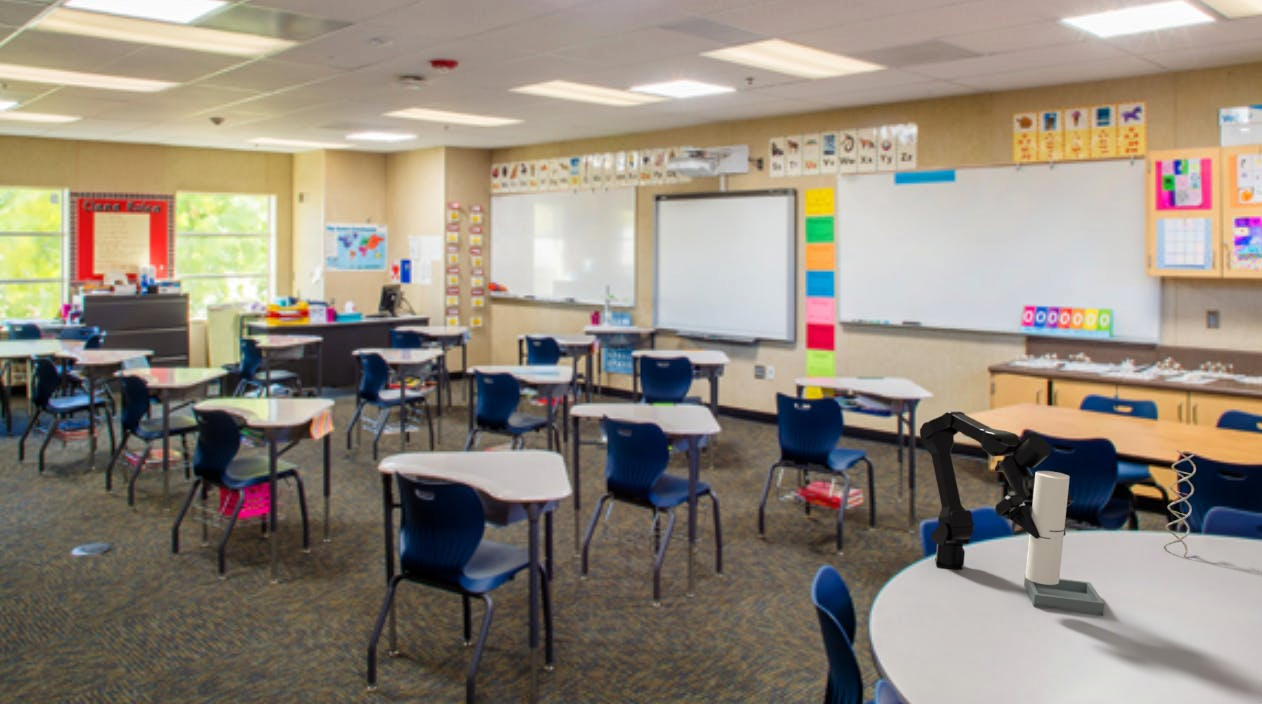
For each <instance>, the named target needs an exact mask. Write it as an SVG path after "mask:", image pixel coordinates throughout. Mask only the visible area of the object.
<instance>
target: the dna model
mask: <svg viewBox="0 0 1262 704" xmlns="http://www.w3.org/2000/svg"><path fill="white" fill-rule="evenodd" d="M1176 452H1177V453H1179V454H1180V455H1181V456H1182V457H1184V458H1183V459H1180V460H1178V461H1176V462H1174V463H1173V464H1171V469H1172V471H1174V472H1175V473H1176V474H1177V476H1180V477H1181V479H1179V480H1177V481H1175V482H1173V483H1171V484H1170V485H1169V490H1170V491H1171V492H1173V493H1174V494H1175V496H1177V497H1179V498H1180V499H1178V500H1174V501H1173V502H1171V503H1169V504H1168V505H1167V509H1168V511H1169V512H1171V513H1172V514H1173V515H1174V516H1176V517H1177V518H1178V519H1176V520H1172V522H1168V523H1167V524H1166V525H1165V529H1166V530H1167V531H1168V532H1169V533H1170V534H1171V535H1172V536H1174V537H1175V538H1176V540H1172V541H1170V542H1168V543H1164V545H1163V549H1164V550H1165V551H1166V550H1167V551H1168V548H1167V547H1168V546H1170V545H1172V544H1176V543H1180V542H1181V543H1182V545H1183V547H1184V550H1185V551H1184V554H1183V555H1182V556H1183V557H1186V555H1188V546H1187V543H1186V542H1184V541H1183V540H1184V539H1185V538H1187V537H1188V535H1189V534H1190V532H1191V531H1190V526H1189V524H1188V522H1187V521H1185V520H1186V519H1187V518H1188V517H1190V516H1191V514H1192V512H1193V511H1192V510H1193V509H1192V507H1193V506H1192V505H1191V503H1189V502H1188V500H1187V499H1189V497H1192V495H1193V494H1194V492H1195V488H1194V485H1193V484H1192V483H1191V481H1190V480H1189V479H1190V478H1191V477H1193V476H1194V475H1195V474H1196V471H1197V467H1196V464H1194V461H1192V460H1191V458H1193V457H1194V456H1195V454H1194V453H1193V454H1191V455H1189V456H1187V455H1185V454H1184V453H1182V452H1181V451H1179V450H1178V449H1176ZM1185 461H1186V462H1187V461H1188V462H1190V464H1191V466H1192V467H1193V471H1192V472H1191V473H1189V472H1185V471H1181V470H1178V469H1176V468H1175V466H1176V465H1178V464H1180V463H1182V462H1185ZM1182 474H1186V476H1184V475H1182ZM1182 482H1187V483H1188V484H1189V485H1190V487H1191V492H1190V493H1189V494H1188V493H1185V492H1182V495H1185V496H1184V497H1183V496H1182V495H1180V494H1181V492H1180V491H1177V490H1175V489H1173V486H1174V485H1176V484H1178V483H1179V484H1180V483H1182ZM1180 502H1184V503H1186V504H1187V505H1188V507H1189V512H1188V513H1187V514H1186V513H1185V514H1184V513H1180V512H1178V511H1176V510H1173V509H1171V506H1173V505H1176V504H1178V503H1180ZM1180 515H1183V517H1182V516H1180ZM1179 522H1182V523H1184V525H1185V526H1186V528H1187V529H1186V533H1185V535H1183V534H1181V533H1177V532H1175V531H1173V530H1170V528H1169V526H1171V525H1174V524H1176V523H1179ZM1178 535H1179V536H1181V537H1179V536H1178Z"/></svg>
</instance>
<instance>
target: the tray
mask: <svg viewBox="0 0 1262 704" xmlns="http://www.w3.org/2000/svg"><path fill="white" fill-rule="evenodd" d="M1025 575H1026V573H1025V574H1024V581H1023V586H1024V589H1025V591H1026V593H1027V596H1028V595H1029V596H1028V598H1029V600H1030V602H1031V604H1032V606H1033V608H1041V609H1049V610H1054V611H1064V612H1070V613H1076V614H1077V613H1080V614H1086V615H1087V614H1088V615H1093V616H1100V617H1101V616H1102V617H1104V615H1105V614H1104V613H1105V602H1104V601H1103V599H1102V598H1101V596H1100V595H1099V593H1098V592H1097V590H1096V589H1095V588H1094V586H1093V584H1092V583H1091V582H1089V581H1082V580H1075V579H1066V578H1059V583H1058V584H1055V585H1046V584H1040V583H1036V582H1033V581H1030V580H1028V579H1027V578H1026V577H1025Z"/></svg>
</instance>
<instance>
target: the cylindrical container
mask: <svg viewBox="0 0 1262 704" xmlns="http://www.w3.org/2000/svg"><path fill="white" fill-rule="evenodd" d="M1034 476H1035V483H1034V493H1033V504H1032V508H1031V513H1030V515H1031V517H1032V519H1033V521H1034V523H1035V526H1036V528H1037V530H1038V532H1039V535H1040V537H1039V538H1038V539H1036V538H1034V537H1033V536H1032V535H1031V534H1029V537H1028V547H1027V555H1026V556H1027V557H1026V567H1025V574H1026V575H1025V574H1024V578H1025V577H1026V578H1027V579H1028V580H1030V581H1033V582H1036V583H1040V584H1046V585H1055V584H1058V583H1059V579H1060V574H1061V565H1062V555H1063V547H1064V546H1063V545H1064V537H1065V536H1064V527H1065V526H1066V516H1067V498H1068V493H1069V486H1070V477H1071V476H1070V475H1068V474H1065V473H1062V472H1059V471H1058V472H1057V471H1056V472H1055V471H1050V470H1037V471H1035V475H1034ZM1065 528H1066V527H1065Z"/></svg>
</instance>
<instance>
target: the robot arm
mask: <svg viewBox="0 0 1262 704" xmlns="http://www.w3.org/2000/svg"><path fill="white" fill-rule="evenodd" d="M958 433H961V434H963V435H965V436H967V437H969V438H971V439H973V440H974V441H976V442H978V443H979V444H980V446H981V448H982V450H983V451H985V452H986V453H987V454H988V455H990V456H991V457H1004V458H1003V459H1002V460H997V461H996V465H995V466H994V471H995V472H1003V475H1004V476H1005V478H1006V480H1007V482H1008V483H1009V484H1008V485H1009V486H1008V487H1007V490H1008V492H1009V493H1014V494H1011V495H1006V496H1004V497H1003V498H1001V500H999V501H998V502H997V503H996V504H995V509H994V510H995V513H996V514H997V516H998V518H1002V517H1005V518H1006V519H1007V520H1009V521H1011V522H1013V523H1014V524H1015V525H1017V526H1019V527H1020V528H1021V529H1023V530H1024V531H1025V532H1027V533H1028V534H1029V535H1030V534H1031V535H1032V536H1033V537H1034V538H1036V539H1038V538H1039V537H1040V535H1039V532H1038V530H1037V528H1036V526H1035V523H1034V521H1033V519H1032V517H1031V509H1032V504H1033V493H1034V483H1035V475H1033V473H1032V471H1031V469H1034V468H1036V467H1038V465H1039V464H1041V463H1042V462H1043V461H1044V460H1045V459H1046V458H1047V457H1049V456H1050V455H1051V453H1052V447H1051V445H1050V443H1049V442H1047V441H1046V440H1045V439H1044V438H1043V437H1040V436H1039V435H1038V434H1037V433H1036V432H1028V433H1027V434H1025V436H1024V437H1023V438H1022V439H1020V438H1019V436H1018V435H1017V434H1016V433H1014V432H1011V431H1007V430H1001V429H995V428H992V427H990V426H988V425H986V424H984V423H982V422H980V421H978V420H976V419H974V418H973V417H970V416H968V415H967V414H965V412H962V411H947V412H945V413H943V414H942V415H940V416H938V417H935V418H933V419H931V420H929V421H926V422H924V423H922V425H921V427H920V429H919V435H920V439H921V442H922V445H923V447H924V448H925V450H926V451H927V452H928V453H929V454H930V456H931V460H932V465H933V470H934V474H935V479H936V485H937V489H938V494H939V499H940V505H941V508H940V509H941V510H940V513H939V515H938V518H937V519H938V520H937V521H938V522H937V523H938V526H937V527H936V528H935V529H933V531H931V532H930V537H931V538H930V539H931V541H932V543H935V544H936V553H935V554H936V556H935V558H934V560H935V561H934V562H935V566H936V567H937V568H938V567H939V568H944V569H953V570H960V571H961V570H963V566H965V565H964V563H965V552H966V551H965V548H964V545H969V544H970V541H971V538H972V536H973V534H974V531H975V529H974V526H975V523H974V521H973V513H972V511H971V510H969V509H967V510H966V508H964V507H963V505H962V502H961V496H960V494H959V487H958V483H957V478H956V474H955V469H954V463H953V459H952V449H953V446H954V444H955V438H954V437H955V436H956V435H957V434H958ZM1074 502H1075V501H1074V499H1073V497H1072V496H1071V493H1069V492H1068V498H1067V507H1069V506H1071V505H1072V504H1073V503H1074ZM1066 534H1067V533H1066V527H1064V537H1065V536H1066Z"/></svg>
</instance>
